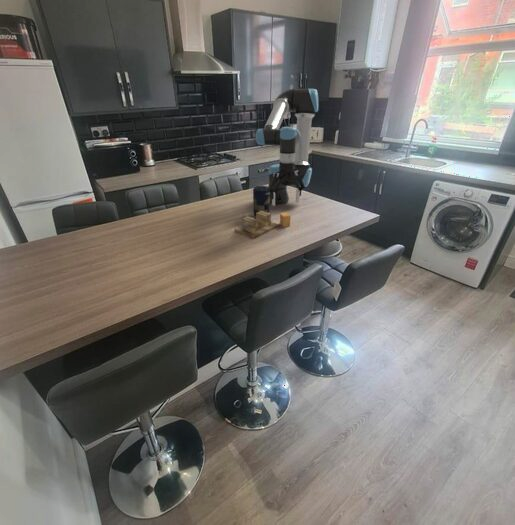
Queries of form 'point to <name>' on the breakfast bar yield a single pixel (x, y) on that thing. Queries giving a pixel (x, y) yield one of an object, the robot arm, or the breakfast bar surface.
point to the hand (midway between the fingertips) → (285, 203)
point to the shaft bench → (258, 233)
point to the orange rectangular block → (285, 219)
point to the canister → (261, 199)
